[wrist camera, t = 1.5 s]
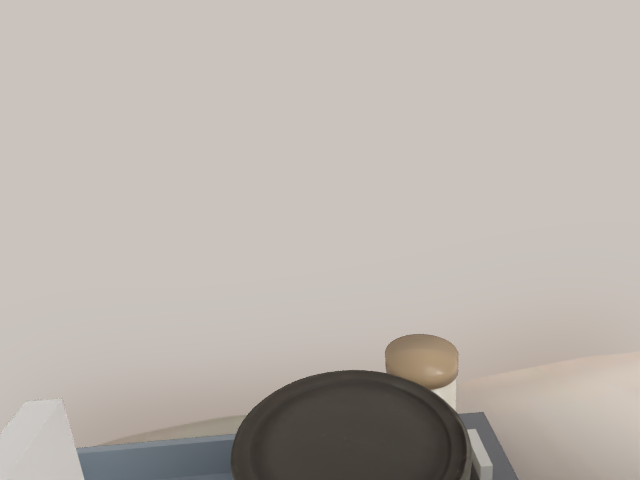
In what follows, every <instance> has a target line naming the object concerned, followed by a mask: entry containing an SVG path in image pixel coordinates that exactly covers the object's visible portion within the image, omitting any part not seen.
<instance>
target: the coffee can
mask: <svg viewBox="0 0 640 480" xmlns="http://www.w3.org/2000/svg"><path fill="white" fill-rule="evenodd" d="M230 463H231V470H232V476H233V480H470V475H471V466H472V448H471V442H470V438H469V434H468V431H467V429H466V427H465V425H464V423H463V421H462V420H461V418H460V417H459V415H458V414H457V413H456V411H455V410H454V409H453V408H452V407H451V406H450V405H449V404H448V403H447V402H446V401H445V400H444V399H442V398H441V397H440V396H438V395H437V394H436V393H434V392H432V391H431V390H429V389H427V388H426V387H424V386H422V385H420V384H418V383H415V382H413V381H410V380H407V379H404V378H402V377H398V376H395V375H391V374H387V373H382V372H374V371H365V370H348V371H335V372H328V373H322V374H317V375H313V376H309V377H306V378H303V379H300V380H297V381H295V382H292V383H291V384H288V385H286V386H284V387H282V388H281V389H279V390H277V391H275V392H274V393H272V394H271V395H269V396H268V397H266V398H265V399H264V400H262V402H260V403H259V404H258V405H257V406H255V407H254V408H253V409H252V411H251V412H250V413H249V414H248V415H247V416H246V418H245V419H244V420H243V422H242V424H241V425H240V427H239V429H238V431H237V433H236V436H235V439H234V442H233V446H232V450H231V462H230Z"/></svg>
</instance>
